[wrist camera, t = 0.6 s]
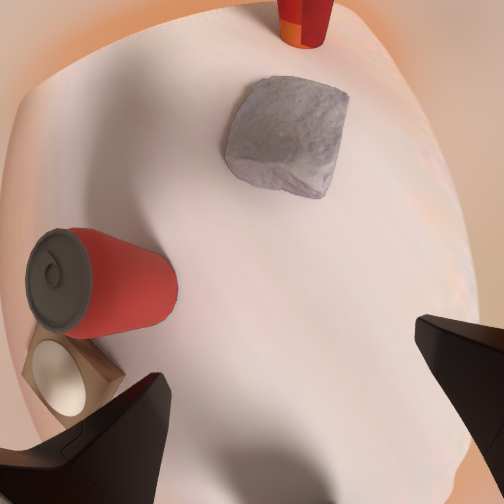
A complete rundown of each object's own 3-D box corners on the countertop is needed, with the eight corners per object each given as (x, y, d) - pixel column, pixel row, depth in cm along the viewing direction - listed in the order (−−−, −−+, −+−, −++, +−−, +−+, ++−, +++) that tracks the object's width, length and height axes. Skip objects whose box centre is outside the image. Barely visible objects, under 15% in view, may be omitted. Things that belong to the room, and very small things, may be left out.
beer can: (154, 237, 24) (68, 193, 12) (195, 297, 23) (120, 297, 11) (106, 280, 24) (9, 267, 12) (141, 339, 22) (49, 364, 11)
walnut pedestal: (125, 374, 22) (107, 383, 19) (92, 431, 21) (76, 441, 18) (62, 309, 24) (42, 309, 20) (37, 370, 23) (20, 374, 20)
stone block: (227, 188, 26) (331, 208, 23) (207, 163, 21) (331, 182, 18) (262, 100, 28) (350, 110, 25) (251, 70, 23) (351, 77, 20)
